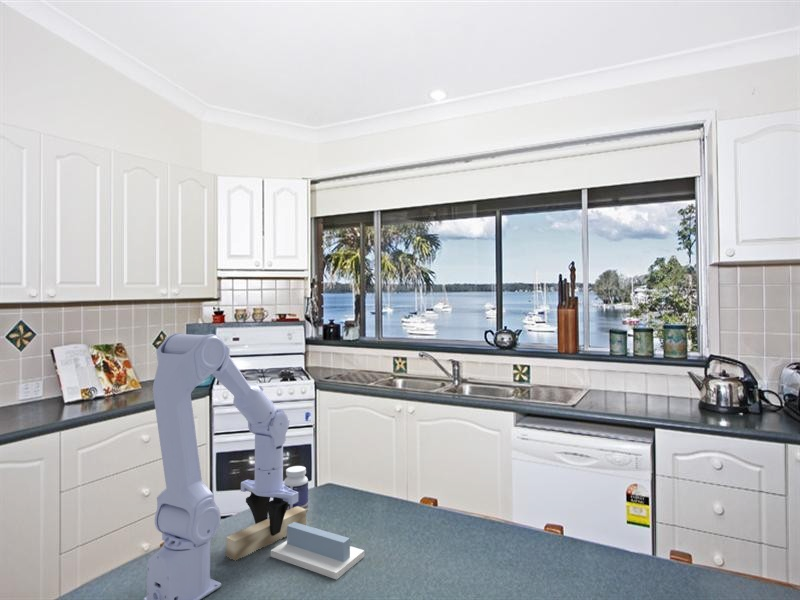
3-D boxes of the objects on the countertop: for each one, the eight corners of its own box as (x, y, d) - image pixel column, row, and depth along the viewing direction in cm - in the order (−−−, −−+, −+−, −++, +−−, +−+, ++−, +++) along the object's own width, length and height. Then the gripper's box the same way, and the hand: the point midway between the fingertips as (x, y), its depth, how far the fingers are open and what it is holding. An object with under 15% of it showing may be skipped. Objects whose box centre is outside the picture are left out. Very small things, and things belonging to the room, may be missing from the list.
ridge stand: (336, 579, 85) (336, 552, 85) (270, 556, 93) (270, 531, 93) (364, 556, 93) (364, 531, 93) (301, 537, 101) (301, 514, 101)
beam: (234, 562, 91) (235, 541, 91) (225, 557, 93) (226, 536, 93) (306, 527, 105) (306, 509, 105) (297, 523, 107) (297, 506, 107)
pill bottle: (311, 506, 116) (311, 465, 116) (304, 516, 111) (304, 473, 111) (288, 505, 117) (288, 464, 117) (280, 515, 111) (280, 472, 111)
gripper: (308, 465, 99) (308, 531, 99) (258, 455, 106) (257, 516, 106) (284, 476, 93) (284, 546, 93) (233, 464, 100) (232, 529, 100)
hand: (268, 531), depth 99 cm, fingers closed on beam, 3 cm apart
